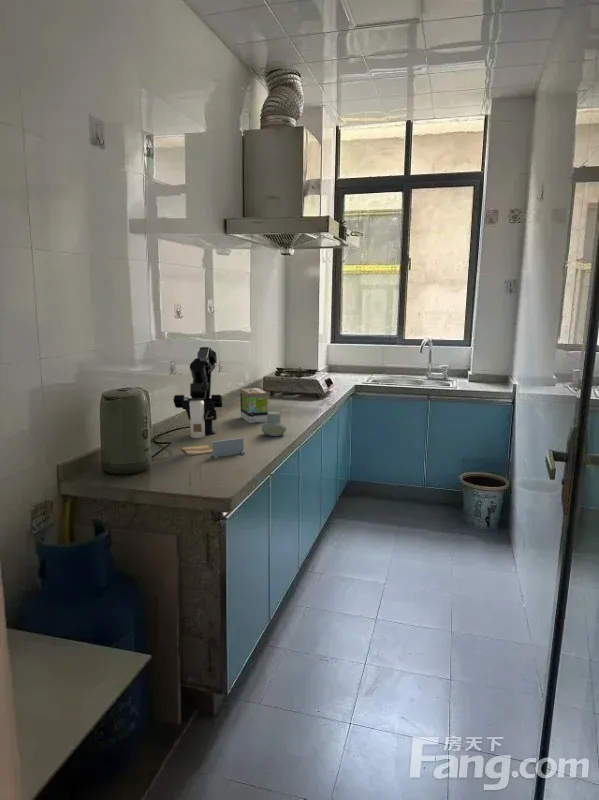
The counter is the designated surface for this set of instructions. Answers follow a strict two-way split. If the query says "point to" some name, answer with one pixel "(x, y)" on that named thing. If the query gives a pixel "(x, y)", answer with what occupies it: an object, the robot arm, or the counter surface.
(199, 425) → the canister
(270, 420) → the air freshener
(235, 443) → the screen
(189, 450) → the mat
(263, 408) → the tea box
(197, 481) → the counter surface
